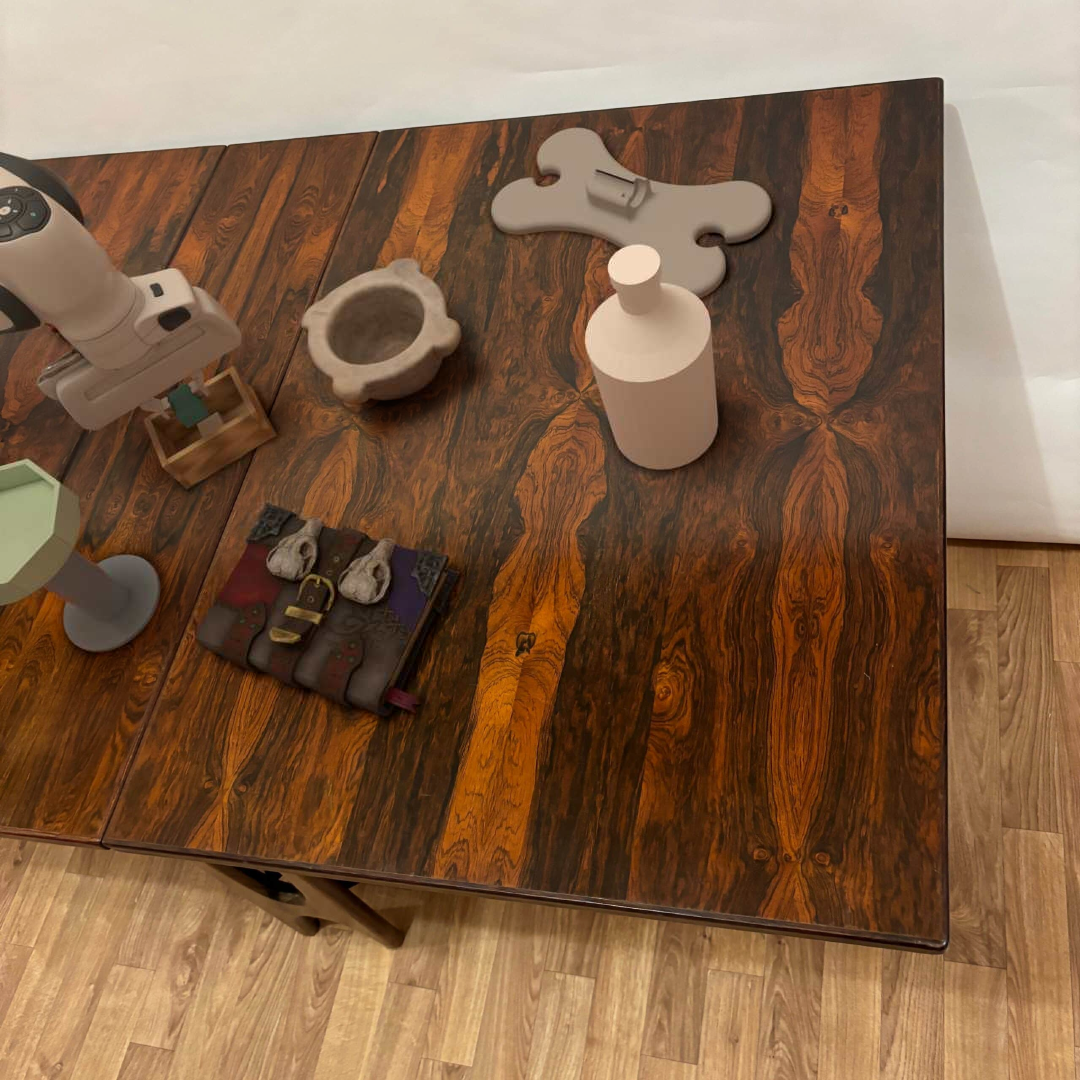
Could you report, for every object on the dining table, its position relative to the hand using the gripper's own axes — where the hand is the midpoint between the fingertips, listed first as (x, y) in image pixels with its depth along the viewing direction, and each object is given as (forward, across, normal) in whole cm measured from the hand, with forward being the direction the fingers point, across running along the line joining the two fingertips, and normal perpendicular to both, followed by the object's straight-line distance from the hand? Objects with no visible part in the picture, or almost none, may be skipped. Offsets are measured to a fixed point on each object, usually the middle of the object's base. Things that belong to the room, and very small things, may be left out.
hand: (188, 403), depth 109 cm
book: (+8, +3, -31) cm, 32 cm away
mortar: (+8, +24, -5) cm, 26 cm away
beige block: (+7, 0, 0) cm, 7 cm away
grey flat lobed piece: (+8, +58, -2) cm, 59 cm away
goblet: (+8, -19, -13) cm, 25 cm away
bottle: (+8, +44, -32) cm, 55 cm away
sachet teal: (+1, 0, 0) cm, 1 cm away
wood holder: (+8, 0, 0) cm, 8 cm away
